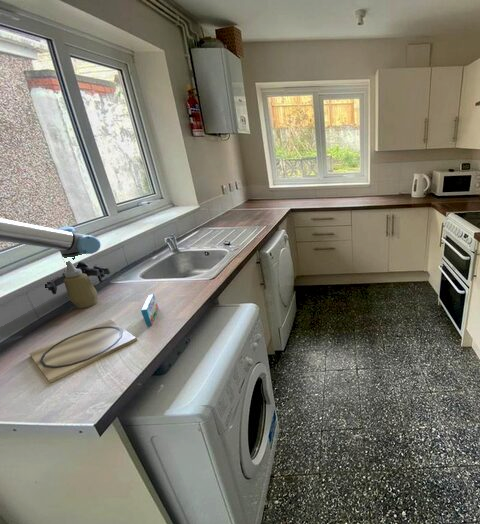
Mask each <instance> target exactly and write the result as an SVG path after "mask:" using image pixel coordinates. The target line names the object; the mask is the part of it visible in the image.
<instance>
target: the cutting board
mask: <svg viewBox="0 0 480 524" xmlns="http://www.w3.org/2000/svg"><path fill="white" fill-rule="evenodd" d="M137 341H138V339H137V337H136V336H135V335H133V334H132V333H131V332H129V331H128V330H126V329H125V328H123V327H122V326H121V325H119V324H118V323H116V322H115V321H114V320H112V319H111V318H110V319H108V320H106V321H103V322H101V323H97V324H96V325H93V326H91V327H89V328H86V329H84V330H82V331H79V332H77V333H74V334H72V335H70V336H67V337H64V338H63V339H60V340H58V341H55V342H53V343H51V344H47V345H45V346H42V347H41V348H38V349H36V350H34V351H32V352H29V357H31V359H32V360H33V361H34V363H35V364H36V366H37V367H38V368H39V369H40V371H41V373H43V375H44V377H45V378H46V379H47V381H48V382H49V383H50V384H52V383H53V382H56V381H57V380H59V379H62V378H63V377H65V376H68V375H70V374H71V373H75V372H76V371H78V370H80V369H82V368H84V367H86V366H88V365H90V364H92V363H94V362H96V361H98V360H100V359H102V358H105V357H106V356H109V355H111V354H112V353H114V352H117V351H118V350H120V349H122V348H125V347H127V346H129V345H130V344H132V343H135V342H137Z"/></svg>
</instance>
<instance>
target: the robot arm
mask: <svg viewBox="0 0 480 524" xmlns="http://www.w3.org/2000/svg"><path fill="white" fill-rule="evenodd" d="M0 242H5V243H11V244H18V245H19V244H20V245H27V246H33V247H40V248H47V249H53V250H54V249H55V250H59V252H60V255H61V257H62V258H63V257H64V258H67V257H74V258H72V259H73V260H74V259H75V256H78V255H82V254H86V255H93V254H96V253H97V252H99V250H100V249H101V245H102V244H101V241H100V240H99V239H98V238H97V237H96V236H93V235H92V234H91V235H90V234H83V233H79V232H78V231H77V230H76V228H75V227H74V226H62V227H57V228H53V227H47V226H43V225H37V224H32V223H27V222H22V221H17V220H12V219H7V218H1V217H0ZM76 269H81V271H82V273H84V274H86V275H87V276H88V278H90V277H97V279H98V281H99V283H102V282H103V278H105V277H106V275H110V274H111V272H110V269H109V267H107V266H103V265H99V264H94V265H93V266H92V267H90V263H89V264H87V263H86V262H79V263H78V265H77V267H76ZM65 278H66V276H65V274H64V272H63V273H62V276H60V277H57V278H55V279H53V280H51V281H49V282H47V284H45V288H48V289H47V290H48V291H51V293H52V295H56V294H57V290H58V286H60V285H62V284H65V283H64V279H65Z"/></svg>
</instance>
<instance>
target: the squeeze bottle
mask: <svg viewBox="0 0 480 524" xmlns="http://www.w3.org/2000/svg"><path fill="white" fill-rule="evenodd" d="M66 265H67V271H66V272H65V271H64V272H65V273H64V272H63V273H64V274H65V276H66V278H65V279H64V283H63V284H64V286H65V289H66V292H67V296H68V299H69V302H71V303H72V304H73V305H75V307H77V308H78V309H85V308H89V307H92V306H94V305H96V304H98V291H97V289H96V288H95V286H94V284H93V283H92V281H91V280H90V277H88V276H87V275H86V274H84V273H82V271H81V269H76V268H75V266H74V265H73V264H72V263H71V262H70V261H68V262H66Z"/></svg>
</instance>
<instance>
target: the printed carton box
mask: <svg viewBox="0 0 480 524" xmlns="http://www.w3.org/2000/svg"><path fill="white" fill-rule="evenodd" d="M159 310H160V309H159V304H158V301H157V299H156V296H155V294H154V293H151V294H148V296H147V298H146V299H145V302H144V304H143V306H142V308H141V310H140V313H141V314H142V317H143V320H144V323H145V325H146V327H150V326H153V324H154V322H155V319H156V316H157V314H158V311H159Z"/></svg>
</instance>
